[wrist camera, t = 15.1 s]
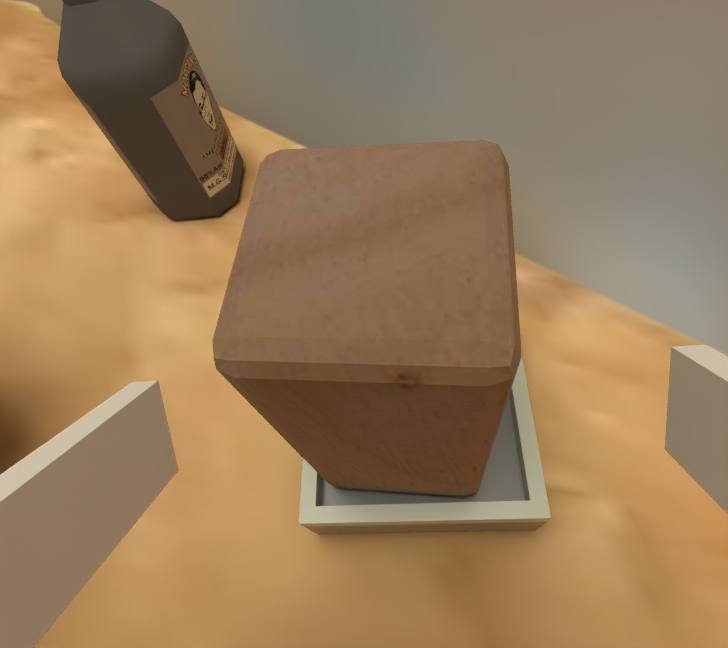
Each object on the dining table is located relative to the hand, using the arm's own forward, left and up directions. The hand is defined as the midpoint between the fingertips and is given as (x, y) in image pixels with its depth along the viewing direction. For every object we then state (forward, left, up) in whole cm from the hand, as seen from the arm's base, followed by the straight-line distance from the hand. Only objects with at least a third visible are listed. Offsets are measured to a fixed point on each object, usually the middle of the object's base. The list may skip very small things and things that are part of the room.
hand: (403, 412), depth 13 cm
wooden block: (-1, +7, -21) cm, 22 cm away
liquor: (-22, +35, -25) cm, 49 cm away
